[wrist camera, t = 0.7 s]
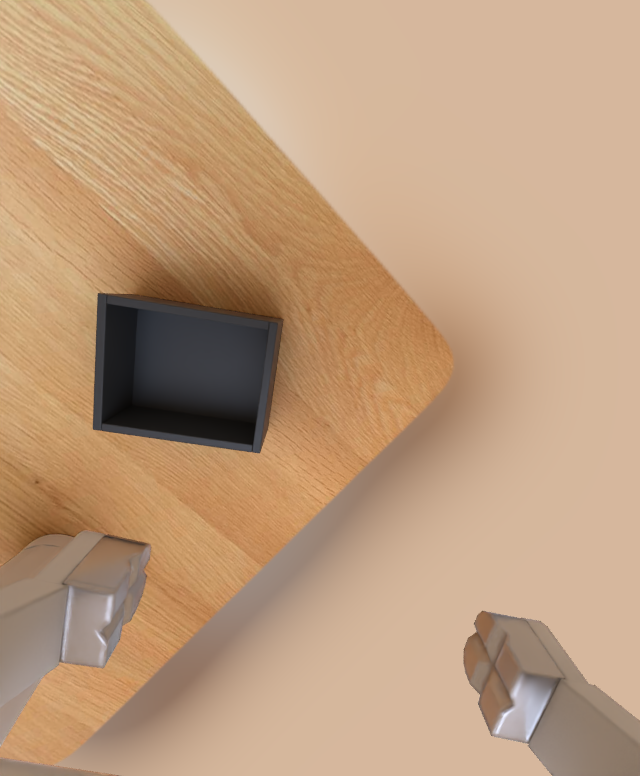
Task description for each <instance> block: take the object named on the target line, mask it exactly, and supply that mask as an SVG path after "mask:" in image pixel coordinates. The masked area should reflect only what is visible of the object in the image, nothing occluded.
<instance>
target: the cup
mask: <svg viewBox="0 0 640 776" xmlns="http://www.w3.org/2000/svg"><path fill="white" fill-rule="evenodd" d="M73 538H74V537H72V536H68V535H62V534H50V535H45V536H42V537H39V538H37V539H35V540H34V541H32V542H31V543H30V544H28V545H27V546H26V547H25V548H24V549H23V550H22V551H20V552H19V553H18V554H17V555H16V556H14V557H13V558H12V559H10V560H9V561H8V562H6V563H5V564H4V565H2V566H1V567H0V588H1V587H3V586H6V585H8V584H11V583H13V582H16V581H18V580H21V579H23V578H31V579H33V578H34V577H35V576H36V575H37V574H38V573H39V572H40V571H41V570H42V569H43V568H44V567H45V566H46V565H47V564H48V563H49V562H50V561H51V560H52V559H53V558H54V557H55V556H56V555H57V554H58V553H59V552H60V551H61V550H62V549H63V548H64V547H65V546H66V545H67V544H68V543H69V542H70V541H71V540H72V539H73ZM42 678H43V677H42ZM42 678H40V679H39V680H37V681H36V682H35V683H33V684H32V685H30V686H29V687H28V688H26V689H25V690H24V691H22V692H21V693H19V694H18V695H17V696H15V697H14V698H12V699H11V700H10V701H8V702H7V703H6V704H4V705H3V706H1V707H0V747H1V745H2V743H3V742H4V740H5V738H6V737H7V735H8V734H9V732H10V730H11V729H12V727H13V725H14V724H15V722H16V720H17V719H18V717H19V715H20V714H21V712H22V710H23V709H24V707H25V705H26V704H27V702H28V700H29V699H30V697H31V696H32V694H33V692H34V691H35V689H36V687H37V686H38V684H39V683H40V681H41V679H42Z"/></svg>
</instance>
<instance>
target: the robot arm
mask: <svg viewBox="0 0 640 776" xmlns="http://www.w3.org/2000/svg"><path fill="white" fill-rule="evenodd" d="M150 553H151V545H150V544H149V543H144V542H140V541H135V540H131V539H126V538H122V537H118V536H113V535H109V534H108V535H106V534H103V533H98V532H94V531H89V530H84V531H81V532H80V533H78V534H77V535H76V536H75V537H74V538H73V539H72V540H71V541H70V542H69V543H68V544H67V545H66V546H65V547H64V548H63V549H62V550H61V551H60V552H59V553H58V554H57V555H56V556H55V557H54V558H53V559H52V560H51V561H50V562H49V563H48V564H47V565H46V566H45V567H44V568H43V569H42V570H41V571H40V572H39V573H38V574H37V575H36V576H35V577H34V578H33V579H31V578H23V579H21V580H18V581H16V582H13V583H11V584H8V585H6V586H3V587H1V588H0V707H1V706H3V705H4V704H6V703H7V702H8V701H10V700H11V699H12V698H14V697H15V696H17V695H18V694H19V693H21V692H22V691H24V690H25V689H26V688H28V687H29V686H30V685H32V684H33V683H35V682H36V681H37V680H39V679H40V678H42V677H43V676H44V675H46V674H47V673H48V672H50V671H51V670H53V669H54V668H55V667H57V666H58V665H59V662H61V663H69V664H76V665H83V666H90V667H97V668H104V667H105V665H106V663H107V661H108V659H109V658H110V656H111V654H112V652H113V651H114V649H115V647H116V645H117V644H118V642H119V640H120V637H121V631H122V626H123V625H125V624H126V623H128V622H130V621H131V619H132V617H133V615H134V613H135V611H136V609H137V607H138V604H139V602H140V599H141V597H142V594H143V590H144V587H145V583H146V577H147V575H146V573H145V572H144V570H143V569H144V568H145V566H146V565H147V563H148V561H149V560H150ZM474 625H475V628H476V630H477V632H476V633H475V634H473V635H472V636H470V637H469V638H468V640H467V642H466V645H465V648H464V667H465V672H466V675H467V678H468V680H469V683H470V685H471V686H472V687H473V688H474V689H475V690H476V691H477V692H478V693H479V694H480V698H479V702H478V705H479V707H480V710H481V712H482V714H483V717H484V719H485V722H486V724H487V726H488V729H489V731H490V734H491V736H494V737H499V738H503V739H508V740H513V741H518V742H523V743H527V744H529V745H528V746H529V748H530V749H531V750H532V751H533V753H534V754H535V755H536V756H537V758H538V759H539V760H540V761H541V762H542V764H543V765H544V766H545V767H546V769H547V770H548V771H549V772H550V773H551V775H552V776H640V721H639V720H638V719H637V718H636V717H634V716H633V715H632V714H630V713H629V712H628V711H627V710H625V709H624V708H623V707H622V706H621V705H619V704H618V703H617V702H616V701H614V700H613V699H612V698H610V697H609V696H608V695H607V694H605V693H604V692H603V691H602V690H600V689H599V688H598V687H597V686H595V685H591V684H588V682H587V681H586V679H585V678H584V677H583V675H582V674H581V672H580V671H579V670H578V668H577V667H576V666H575V664H574V663H573V661H572V660H571V659H570V657H569V656H568V654H567V653H566V652H565V650H564V649H563V648H562V646H561V645H560V643H559V642H558V641H557V639H556V638H555V637H554V635H553V634H552V632H551V631H550V630H549V628H548V627H547V626H546V625H545V624H544V623H542V622H541V621H537V620H531V619H526V618H517V617H511V616H506V615H501V614H496V613H491V612H486V611H482V612H481V613H480V614H478V615H477V618H476V620H475V622H474ZM0 776H119V775H112V774H105V773H99V772H93V771H86V770H80V769H73V768H66V767H59V766H53V765H47V764H40V763H34V762H27V761H21V760H14V759H8V758H1V757H0Z"/></svg>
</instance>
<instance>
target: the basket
mask: <svg viewBox="0 0 640 776" xmlns="http://www.w3.org/2000/svg"><path fill="white" fill-rule="evenodd" d="M282 326H283V319H279V318H273V317H267V316H261V315H255V314H249V313H243V312H237V311H231V310H225V309H219V308H213V307H207V306H201V305H195V304H189V303H183V302H177V301H171V300H164V299H158V298H152V297H146V296H140V295H133V294H106V293H98V302H97V330H96V357H95V384H94V412H93V430H100V431H101V430H102V431H107V432H114V433H121V434H128V435H135V436H142V437H149V438H156V439H163V440H170V441H177V442H184V443H191V444H198V445H205V446H212V447H219V448H226V449H233V450H240V451H247V452H254V453H260V452H261V449H262V446H263V442H264V439H265V436H266V433H267V430H268V424H269V417H270V410H271V403H272V396H273V389H274V382H275V375H276V368H277V361H278V354H279V347H280V340H281V333H282Z"/></svg>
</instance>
